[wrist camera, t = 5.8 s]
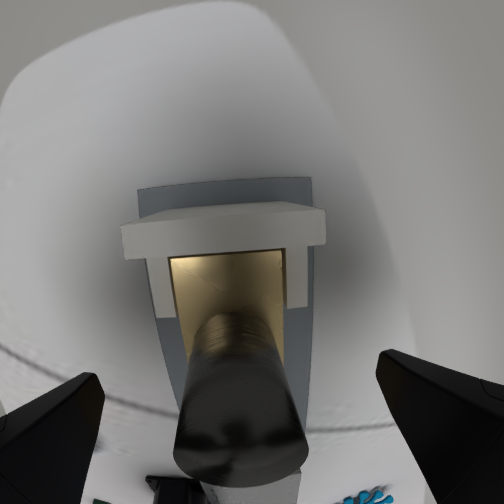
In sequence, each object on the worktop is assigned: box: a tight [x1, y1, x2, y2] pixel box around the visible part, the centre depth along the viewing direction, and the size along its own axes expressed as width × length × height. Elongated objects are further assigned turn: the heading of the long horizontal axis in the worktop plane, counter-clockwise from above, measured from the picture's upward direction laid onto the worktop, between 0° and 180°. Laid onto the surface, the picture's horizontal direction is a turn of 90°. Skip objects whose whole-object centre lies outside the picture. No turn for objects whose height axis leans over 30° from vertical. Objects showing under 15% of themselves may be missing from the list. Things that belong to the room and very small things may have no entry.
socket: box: [121, 201, 326, 318], centre depth 11 cm, size 4×6×6 cm, turn 93°
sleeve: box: [200, 468, 301, 504], centre depth 15 cm, size 9×5×6 cm, turn 3°
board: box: [137, 177, 314, 434], centre depth 17 cm, size 24×9×1 cm, turn 3°
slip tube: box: [170, 248, 309, 488], centre depth 10 cm, size 14×4×9 cm, turn 3°
